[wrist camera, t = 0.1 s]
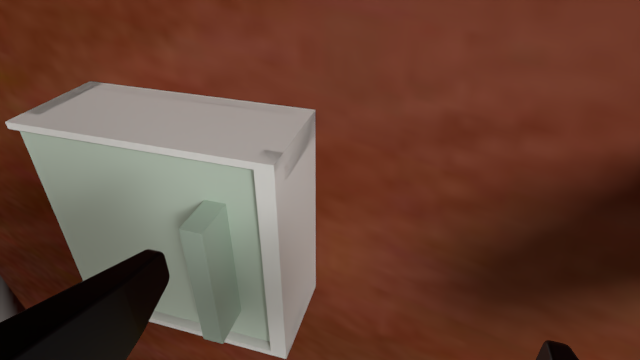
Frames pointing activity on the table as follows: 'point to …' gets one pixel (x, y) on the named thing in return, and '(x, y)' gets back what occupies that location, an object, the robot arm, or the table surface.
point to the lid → (162, 226)
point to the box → (221, 148)
